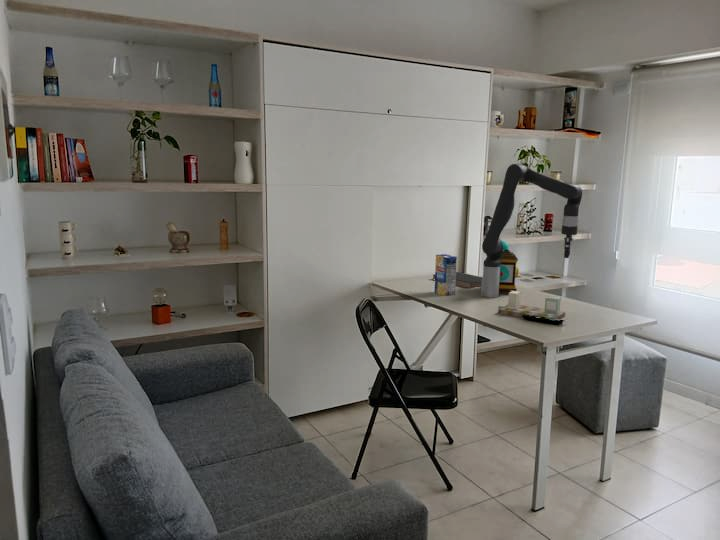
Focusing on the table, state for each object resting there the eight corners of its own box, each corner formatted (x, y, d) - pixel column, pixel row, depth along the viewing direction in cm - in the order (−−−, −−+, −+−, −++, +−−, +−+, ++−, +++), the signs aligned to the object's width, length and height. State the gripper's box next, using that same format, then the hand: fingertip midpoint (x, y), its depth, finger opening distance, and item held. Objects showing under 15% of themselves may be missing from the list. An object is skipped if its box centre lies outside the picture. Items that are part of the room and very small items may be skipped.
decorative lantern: (482, 294, 321) (485, 242, 316) (481, 287, 340) (484, 238, 335) (518, 295, 317) (522, 243, 312) (515, 288, 337) (518, 239, 331)
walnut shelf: (497, 313, 277) (498, 306, 277) (510, 307, 290) (510, 300, 290) (554, 322, 261) (555, 315, 260) (565, 315, 274) (565, 308, 273)
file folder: (432, 274, 361) (459, 271, 375) (432, 280, 362) (458, 277, 376) (469, 282, 334) (497, 279, 348) (469, 289, 335) (496, 285, 349)
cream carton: (512, 306, 284) (513, 290, 283) (520, 307, 282) (521, 291, 280) (507, 308, 279) (508, 292, 278) (515, 309, 277) (516, 293, 276)
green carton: (544, 313, 269) (545, 297, 268) (547, 312, 273) (548, 296, 271) (556, 315, 266) (558, 299, 265) (559, 314, 269) (560, 297, 268)
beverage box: (445, 296, 314) (446, 257, 310) (434, 292, 324) (435, 254, 320) (455, 295, 317) (456, 256, 313) (444, 291, 327) (445, 254, 323)
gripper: (563, 223, 289) (560, 254, 292) (560, 225, 276) (557, 258, 279) (578, 224, 286) (575, 255, 289) (577, 226, 273) (573, 259, 276)
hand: (566, 256), depth 284 cm, fingers open, 8 cm apart
